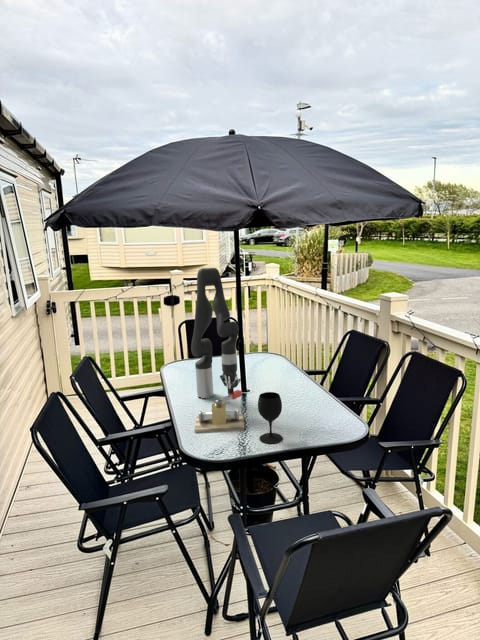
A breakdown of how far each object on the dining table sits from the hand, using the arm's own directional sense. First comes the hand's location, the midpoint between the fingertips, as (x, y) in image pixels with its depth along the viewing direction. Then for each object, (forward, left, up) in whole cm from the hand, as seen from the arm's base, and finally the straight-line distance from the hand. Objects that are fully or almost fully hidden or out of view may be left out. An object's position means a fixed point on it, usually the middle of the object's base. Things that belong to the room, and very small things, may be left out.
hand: (230, 394), depth 215 cm
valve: (+12, -6, -9) cm, 16 cm away
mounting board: (+12, -6, -10) cm, 17 cm away
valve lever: (+6, -1, -1) cm, 7 cm away
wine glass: (+30, +17, -11) cm, 36 cm away
